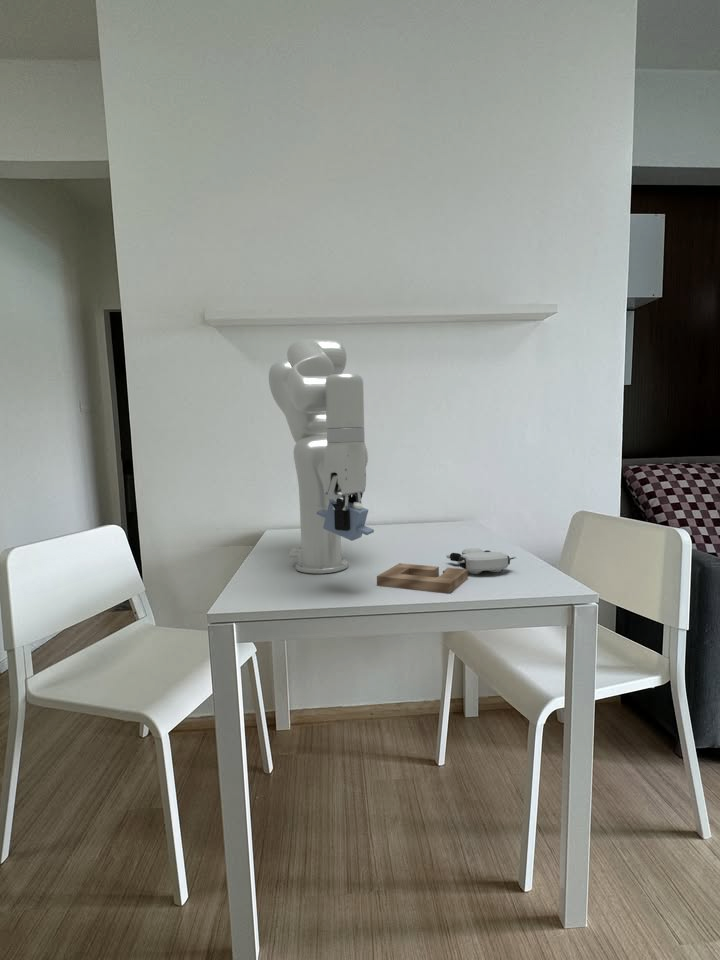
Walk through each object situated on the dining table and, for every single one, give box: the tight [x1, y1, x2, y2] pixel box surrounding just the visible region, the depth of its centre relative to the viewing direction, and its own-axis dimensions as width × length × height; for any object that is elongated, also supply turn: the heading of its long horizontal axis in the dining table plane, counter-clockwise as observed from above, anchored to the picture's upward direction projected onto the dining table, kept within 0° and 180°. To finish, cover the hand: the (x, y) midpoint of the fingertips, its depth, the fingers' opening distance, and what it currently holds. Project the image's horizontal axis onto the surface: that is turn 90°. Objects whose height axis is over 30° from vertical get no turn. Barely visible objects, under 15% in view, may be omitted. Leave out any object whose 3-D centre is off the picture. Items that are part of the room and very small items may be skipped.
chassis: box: [376, 563, 469, 594], centre depth 117 cm, size 16×12×2 cm
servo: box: [316, 498, 375, 542], centre depth 111 cm, size 12×4×7 cm, turn 62°
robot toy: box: [445, 547, 517, 575], centre depth 127 cm, size 12×4×15 cm
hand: (348, 527), depth 111 cm, fingers closed on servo, 3 cm apart
